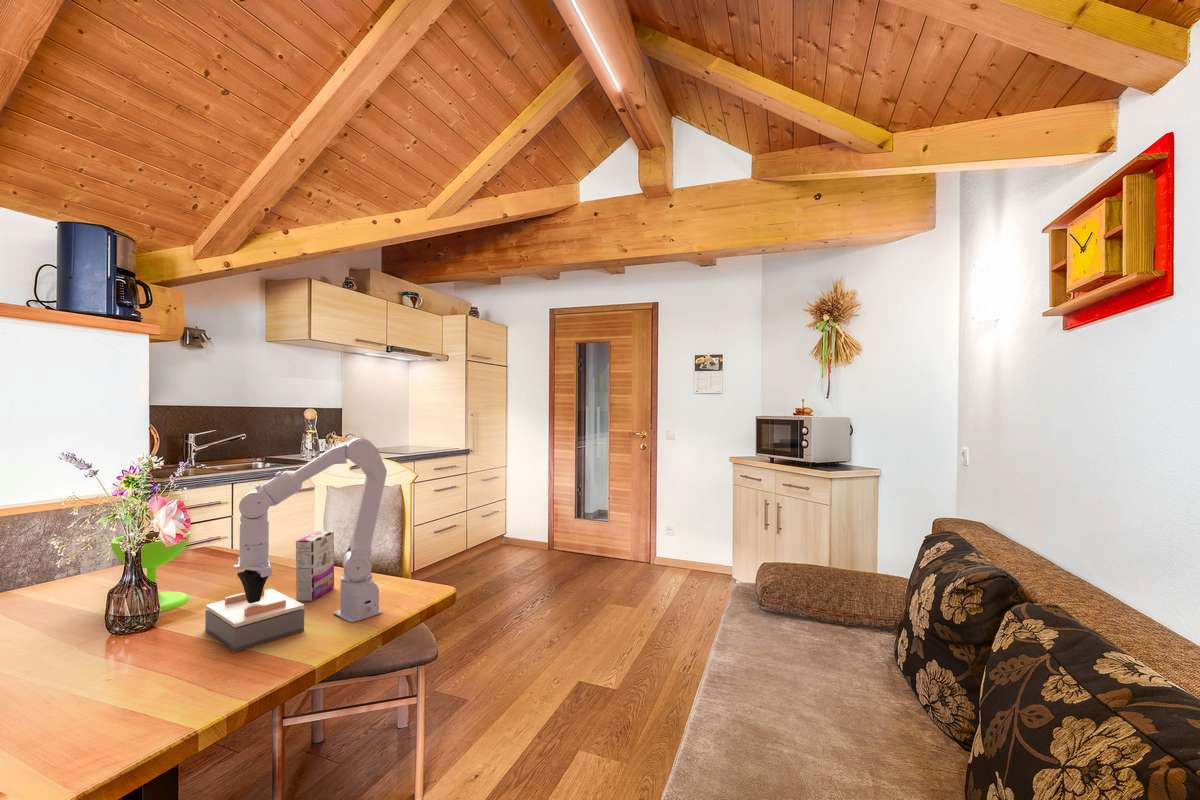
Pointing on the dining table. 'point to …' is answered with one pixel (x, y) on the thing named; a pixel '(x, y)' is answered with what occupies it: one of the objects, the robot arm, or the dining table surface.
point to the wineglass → (152, 558)
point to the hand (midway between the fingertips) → (253, 601)
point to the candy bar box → (314, 565)
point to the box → (254, 630)
